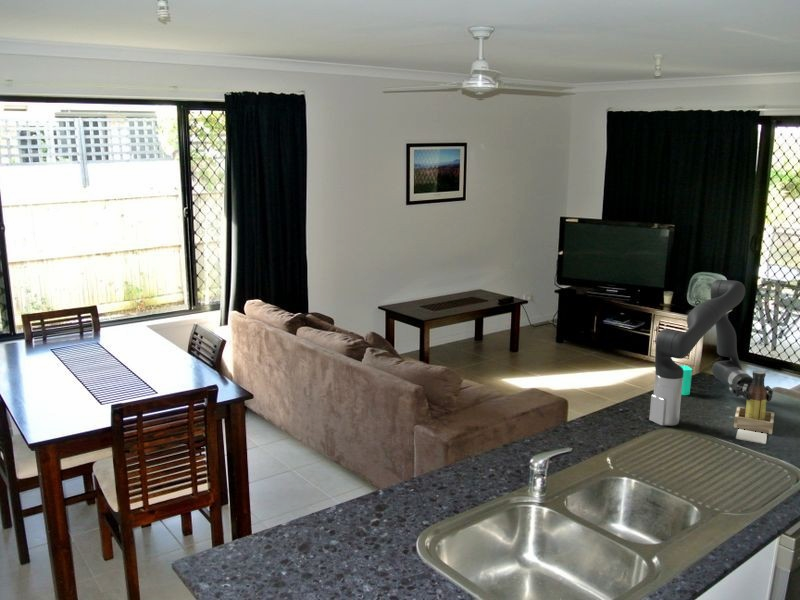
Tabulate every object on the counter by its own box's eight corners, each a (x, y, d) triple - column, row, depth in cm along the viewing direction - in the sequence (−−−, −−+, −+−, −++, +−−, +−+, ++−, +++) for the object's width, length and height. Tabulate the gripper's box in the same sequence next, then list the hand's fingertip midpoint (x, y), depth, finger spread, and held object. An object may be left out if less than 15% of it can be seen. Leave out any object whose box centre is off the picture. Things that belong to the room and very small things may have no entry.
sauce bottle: (759, 422, 254) (766, 369, 250) (766, 429, 248) (774, 374, 244) (740, 421, 255) (747, 368, 250) (747, 428, 248) (754, 373, 244)
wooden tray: (771, 434, 243) (773, 423, 242) (733, 427, 249) (734, 416, 248) (773, 423, 253) (774, 412, 253) (736, 416, 259) (737, 406, 258)
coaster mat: (765, 444, 235) (765, 443, 235) (735, 438, 239) (736, 437, 239) (766, 435, 243) (767, 433, 243) (738, 429, 247) (738, 428, 247)
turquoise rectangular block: (676, 389, 289) (679, 361, 286) (691, 392, 285) (694, 363, 283) (672, 393, 284) (674, 364, 282) (687, 396, 281) (690, 367, 278)
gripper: (722, 372, 263) (739, 386, 247) (763, 373, 261) (782, 388, 245) (720, 391, 264) (736, 407, 248) (761, 393, 263) (780, 409, 247)
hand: (759, 397), depth 247 cm, fingers closed on sauce bottle, 6 cm apart
